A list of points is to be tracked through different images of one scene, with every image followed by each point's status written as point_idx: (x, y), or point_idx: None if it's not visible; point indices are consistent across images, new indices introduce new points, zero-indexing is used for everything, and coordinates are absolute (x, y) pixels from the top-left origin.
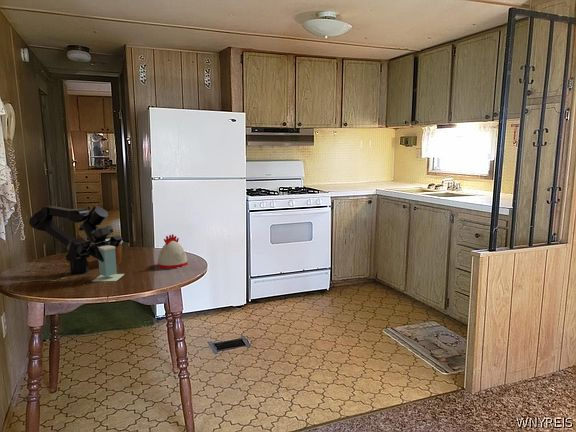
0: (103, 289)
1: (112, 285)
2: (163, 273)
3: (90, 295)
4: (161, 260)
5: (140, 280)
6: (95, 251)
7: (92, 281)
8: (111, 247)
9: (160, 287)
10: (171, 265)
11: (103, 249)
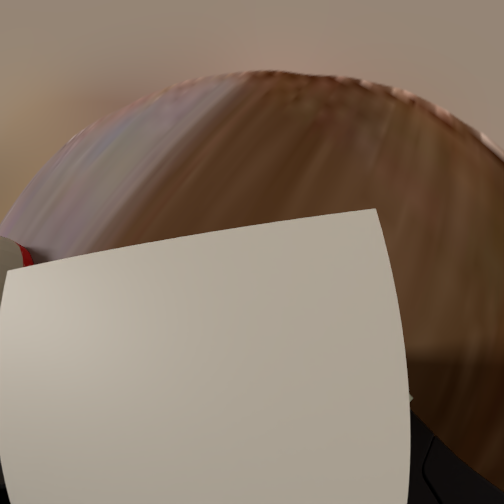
0: (414, 179)
1: (354, 206)
2: (81, 218)
3: (472, 151)
4: (2, 291)
5: (199, 185)
6: (494, 487)
7: (410, 396)
8: (75, 260)
9: (224, 78)
10: (21, 253)
11: (384, 282)
